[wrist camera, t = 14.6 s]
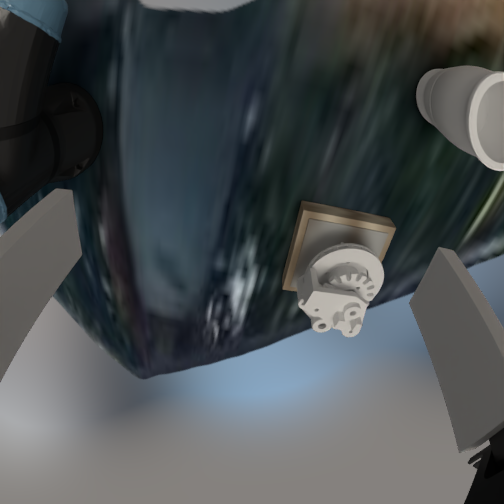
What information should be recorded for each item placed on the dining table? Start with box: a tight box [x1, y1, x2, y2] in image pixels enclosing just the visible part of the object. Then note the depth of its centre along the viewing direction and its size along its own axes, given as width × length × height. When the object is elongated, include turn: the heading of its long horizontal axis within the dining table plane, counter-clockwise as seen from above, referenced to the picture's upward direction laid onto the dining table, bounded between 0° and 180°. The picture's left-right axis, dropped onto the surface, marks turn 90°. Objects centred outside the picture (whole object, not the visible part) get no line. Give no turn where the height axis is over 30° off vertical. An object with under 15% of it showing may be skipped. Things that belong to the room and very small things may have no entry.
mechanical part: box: [297, 242, 384, 337], centre depth 40 cm, size 11×12×12 cm
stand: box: [282, 201, 396, 291], centre depth 46 cm, size 14×14×3 cm
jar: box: [416, 66, 504, 171], centre depth 26 cm, size 11×10×15 cm
